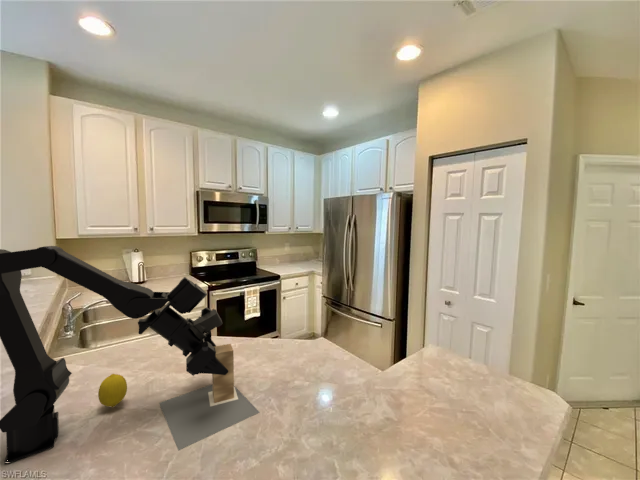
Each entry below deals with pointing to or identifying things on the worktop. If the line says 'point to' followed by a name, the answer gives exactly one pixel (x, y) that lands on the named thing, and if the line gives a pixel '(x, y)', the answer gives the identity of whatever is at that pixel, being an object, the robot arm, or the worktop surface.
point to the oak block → (224, 383)
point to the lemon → (112, 390)
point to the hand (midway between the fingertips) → (224, 364)
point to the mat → (203, 414)
